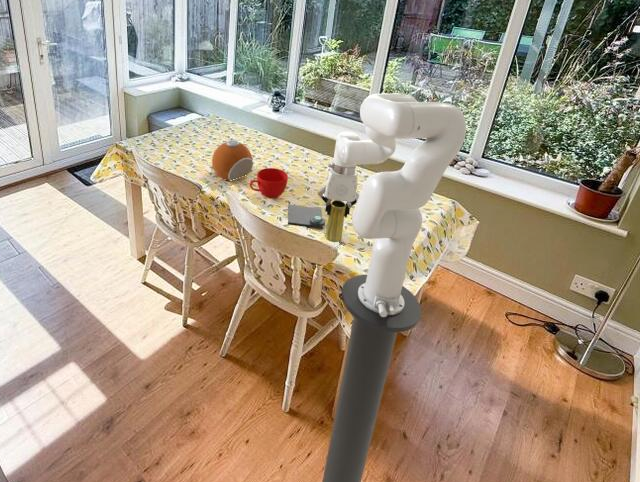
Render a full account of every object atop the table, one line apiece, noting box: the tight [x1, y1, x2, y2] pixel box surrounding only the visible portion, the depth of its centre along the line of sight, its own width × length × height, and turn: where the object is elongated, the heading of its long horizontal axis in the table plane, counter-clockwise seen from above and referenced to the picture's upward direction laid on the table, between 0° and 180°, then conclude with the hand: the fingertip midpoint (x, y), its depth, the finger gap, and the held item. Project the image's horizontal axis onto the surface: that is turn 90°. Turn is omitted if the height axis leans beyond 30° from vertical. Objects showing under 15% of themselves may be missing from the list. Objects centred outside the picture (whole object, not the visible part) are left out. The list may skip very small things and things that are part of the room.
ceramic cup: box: [249, 167, 289, 199], centre depth 176 cm, size 13×17×10 cm
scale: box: [287, 204, 326, 230], centre depth 161 cm, size 15×14×2 cm
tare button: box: [314, 216, 323, 222], centre depth 156 cm, size 3×3×1 cm
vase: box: [324, 200, 346, 243], centre depth 147 cm, size 6×6×14 cm
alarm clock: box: [211, 139, 254, 181], centre depth 192 cm, size 19×18×17 cm
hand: (336, 214), depth 146 cm, fingers closed on vase, 5 cm apart
